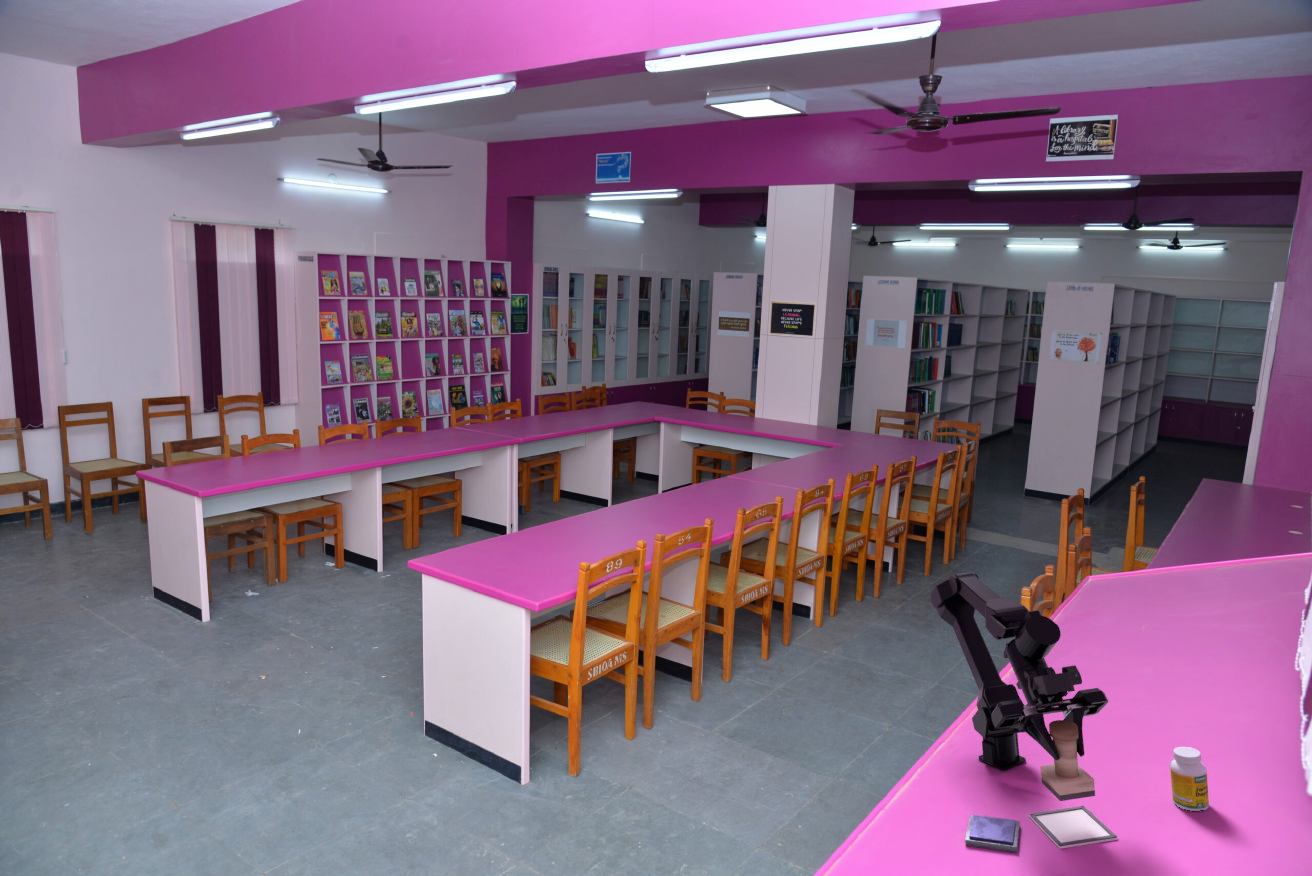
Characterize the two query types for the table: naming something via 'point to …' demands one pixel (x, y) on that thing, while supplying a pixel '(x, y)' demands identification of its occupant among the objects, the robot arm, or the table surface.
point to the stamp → (1066, 765)
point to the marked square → (1072, 827)
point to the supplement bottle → (1189, 780)
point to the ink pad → (993, 833)
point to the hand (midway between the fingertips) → (1070, 757)
